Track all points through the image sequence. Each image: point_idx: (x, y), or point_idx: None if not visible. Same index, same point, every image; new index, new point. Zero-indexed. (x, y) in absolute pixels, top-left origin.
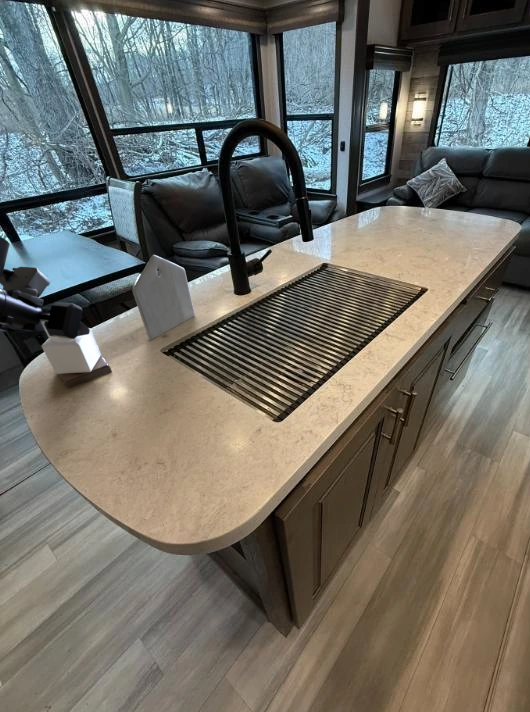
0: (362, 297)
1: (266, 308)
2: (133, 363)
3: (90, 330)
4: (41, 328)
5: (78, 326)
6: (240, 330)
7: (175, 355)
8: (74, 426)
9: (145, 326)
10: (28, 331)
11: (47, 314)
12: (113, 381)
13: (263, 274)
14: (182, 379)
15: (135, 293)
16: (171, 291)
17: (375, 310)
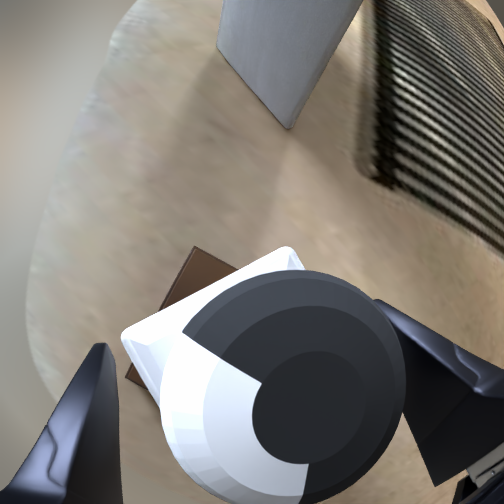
0: (467, 19)
1: (403, 17)
2: (339, 252)
3: (299, 260)
4: (113, 422)
5: None
6: (430, 79)
7: (405, 185)
8: (379, 488)
9: (306, 98)
10: (122, 500)
11: (208, 439)
12: None
13: None
14: (470, 269)
15: (360, 4)
16: None
17: (496, 51)
